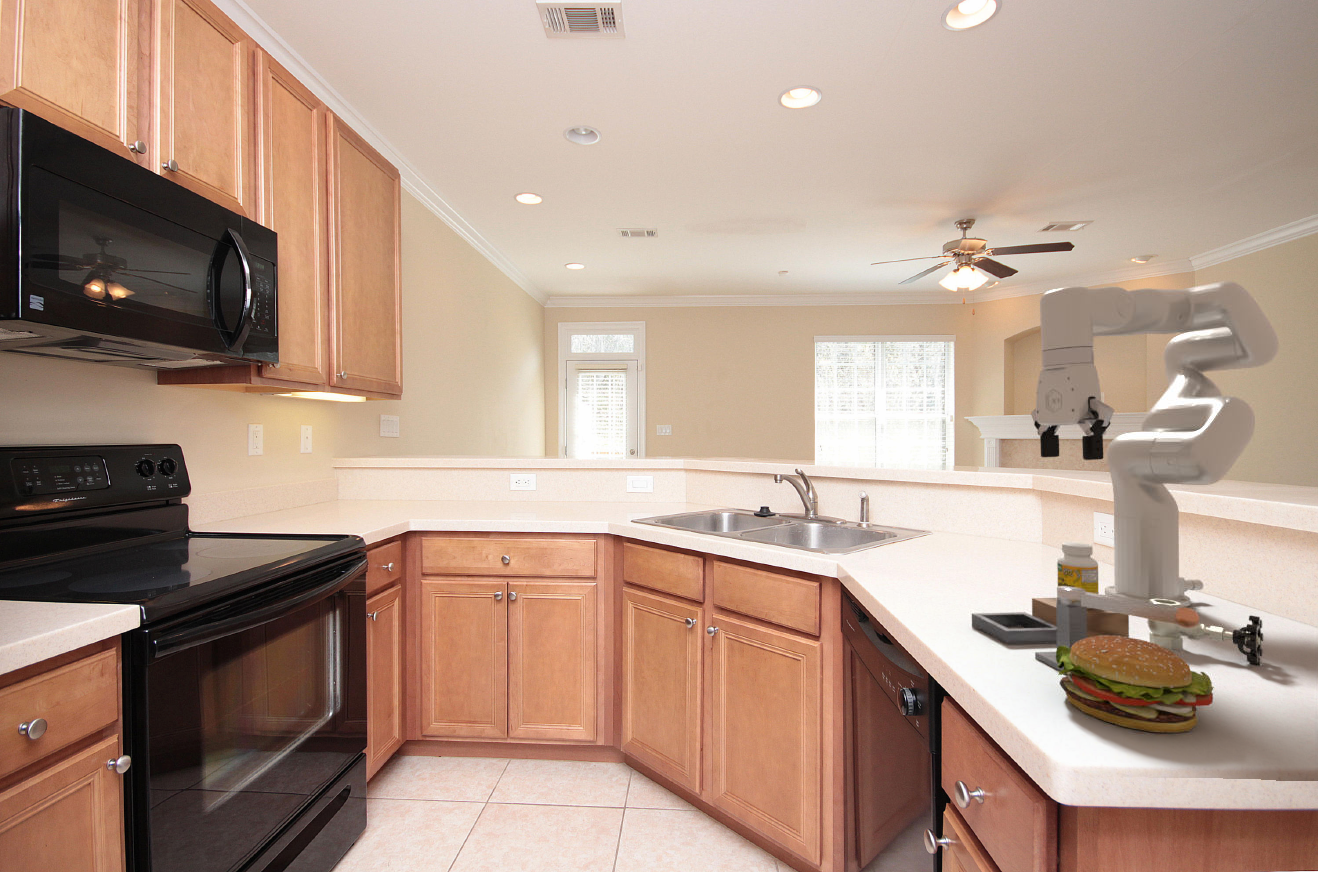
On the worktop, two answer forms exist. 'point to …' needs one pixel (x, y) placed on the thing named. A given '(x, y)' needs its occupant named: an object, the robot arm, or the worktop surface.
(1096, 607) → the handle
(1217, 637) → the valve
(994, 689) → the worktop surface
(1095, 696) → the food
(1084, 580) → the supplement bottle
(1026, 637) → the shallow grey tray
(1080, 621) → the grey upright pillar
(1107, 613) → the walnut block
